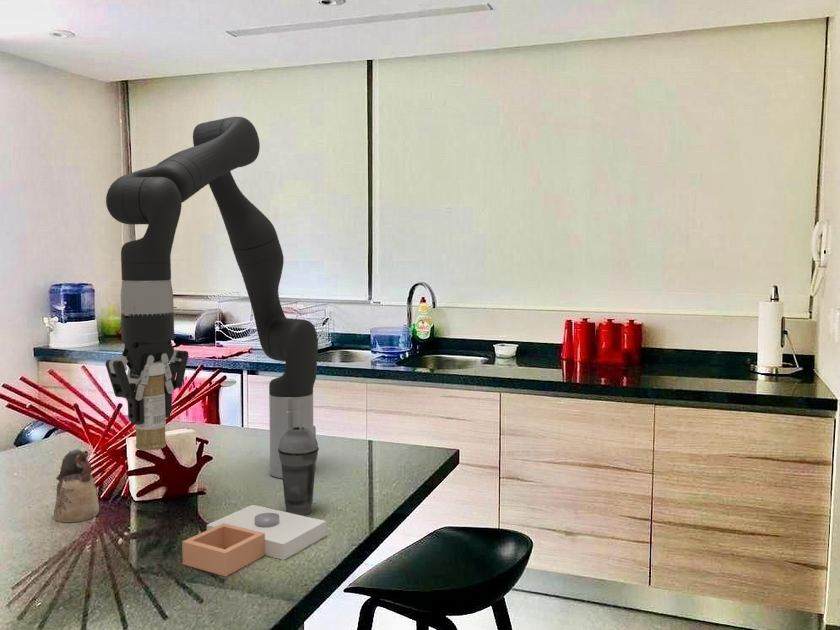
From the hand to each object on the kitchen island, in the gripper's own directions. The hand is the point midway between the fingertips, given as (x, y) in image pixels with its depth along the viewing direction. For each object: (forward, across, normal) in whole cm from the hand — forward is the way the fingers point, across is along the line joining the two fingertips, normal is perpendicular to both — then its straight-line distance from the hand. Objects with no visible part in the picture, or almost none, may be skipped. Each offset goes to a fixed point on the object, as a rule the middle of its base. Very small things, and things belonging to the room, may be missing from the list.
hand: (150, 420), depth 110 cm
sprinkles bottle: (+4, 0, 0) cm, 4 cm away
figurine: (+21, -4, -24) cm, 33 cm away
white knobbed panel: (+21, -9, +11) cm, 26 cm away
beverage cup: (+21, -25, +8) cm, 34 cm away
